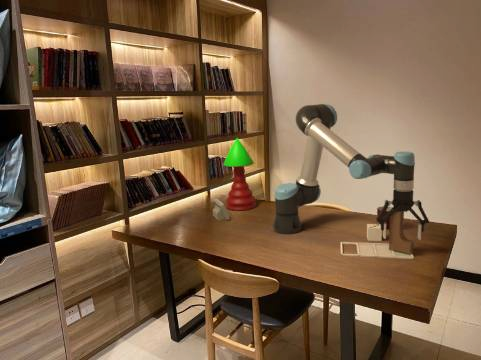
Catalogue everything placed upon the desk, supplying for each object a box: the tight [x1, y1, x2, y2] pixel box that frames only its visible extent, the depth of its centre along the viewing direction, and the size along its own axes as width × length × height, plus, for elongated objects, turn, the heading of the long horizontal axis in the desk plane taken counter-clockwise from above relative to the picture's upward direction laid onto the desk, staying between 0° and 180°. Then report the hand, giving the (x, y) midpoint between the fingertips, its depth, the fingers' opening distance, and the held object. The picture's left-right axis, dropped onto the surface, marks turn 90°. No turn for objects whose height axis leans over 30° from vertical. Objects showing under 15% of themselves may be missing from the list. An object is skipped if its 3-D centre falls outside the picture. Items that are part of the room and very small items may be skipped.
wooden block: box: [388, 209, 415, 254], centre depth 153 cm, size 9×4×18 cm, turn 49°
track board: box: [340, 241, 415, 260], centre depth 158 cm, size 29×14×1 cm, turn 76°
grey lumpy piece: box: [212, 198, 231, 221], centre depth 215 cm, size 16×9×11 cm, turn 10°
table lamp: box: [222, 137, 257, 212], centre depth 232 cm, size 20×20×45 cm
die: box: [366, 223, 383, 242], centre depth 171 cm, size 6×6×6 cm
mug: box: [376, 206, 393, 230], centre depth 183 cm, size 10×8×10 cm
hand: (401, 238), depth 154 cm, fingers open, 13 cm apart
